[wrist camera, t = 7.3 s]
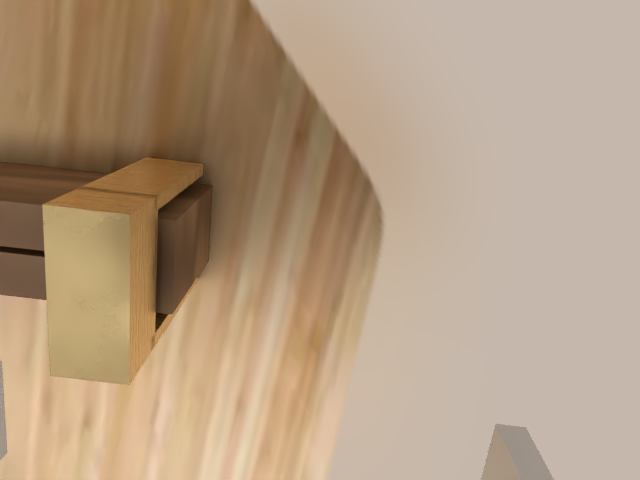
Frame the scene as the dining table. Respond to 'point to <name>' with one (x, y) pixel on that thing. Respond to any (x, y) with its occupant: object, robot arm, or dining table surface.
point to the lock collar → (108, 270)
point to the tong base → (172, 253)
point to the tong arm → (32, 200)
